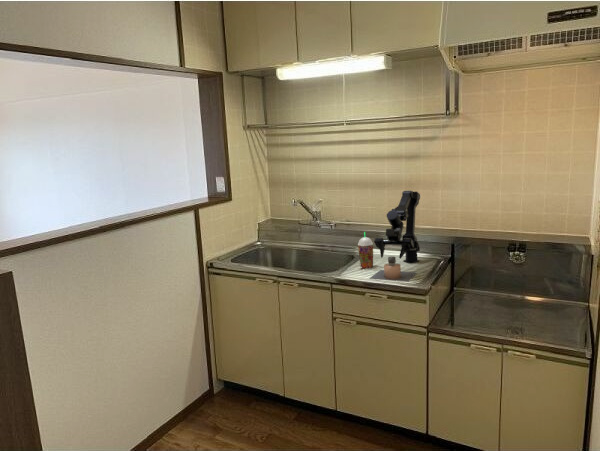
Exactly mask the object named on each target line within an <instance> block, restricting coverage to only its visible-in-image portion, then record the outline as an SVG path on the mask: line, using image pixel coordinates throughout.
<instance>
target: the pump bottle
mask: <svg viewBox="0 0 600 451" xmlns="http://www.w3.org/2000/svg"><path fill="white" fill-rule="evenodd" d="M383 270H384V276H385V278H386V279H399V278H401V271H402V267H401V263H396V262H395V263H386V264H384V265H383Z"/></svg>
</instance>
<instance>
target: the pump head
mask: <svg viewBox="0 0 600 451" xmlns="http://www.w3.org/2000/svg"><path fill="white" fill-rule="evenodd" d="M396 262H397V259H396V256H388V257H387V264H389V263H396Z"/></svg>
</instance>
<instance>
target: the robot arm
mask: <svg viewBox="0 0 600 451" xmlns="http://www.w3.org/2000/svg"><path fill="white" fill-rule="evenodd" d="M420 199H421V194H420V192H418V191H414V190H404V191H402V195H401V198H400V201H399V203H398V205H397V206H396V207H394V208H392V209H390V210H389V211H388V212H387V213H386V218H387V220H388V223H389V225H390V228H386V229H385V236H386V239H387V240H385V239H384V237H375V238H374V241H373V244H375V246H376V248H377V249H379V253H380V257H381V259H382V258H383V257H384V255H385V249H386V248H385V247H386V245H389V246H390V245H393V246H401V249H400V251H399V259H402V258H403V256H405V259H404V260H403V262H405V263H408V264H414V263H417V262H420V260H419V259H418V252H420V251H421V247H420V244H419V242H418V237H417V235H416V234H415V229H416V228H415V226H416V210H417V209H416V208H417V206H418V205H419V204H420ZM404 222H405V223H404ZM404 224H406V225H405V233H404V234H402V233H403V229H404ZM401 239H402V240H401Z"/></svg>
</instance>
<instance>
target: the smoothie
mask: <svg viewBox="0 0 600 451" xmlns="http://www.w3.org/2000/svg"><path fill="white" fill-rule="evenodd" d="M357 249H358V256H359V257H358V258H359V264H360V266H359V267H361V269H362V268H363V269H362V270H364V269H371V268H373V266H374V242H373V241H372V239H371V238H370V237H367V236H366V231H364V232H363V237H361V238H360V239H359V240H358V243H357Z"/></svg>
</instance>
